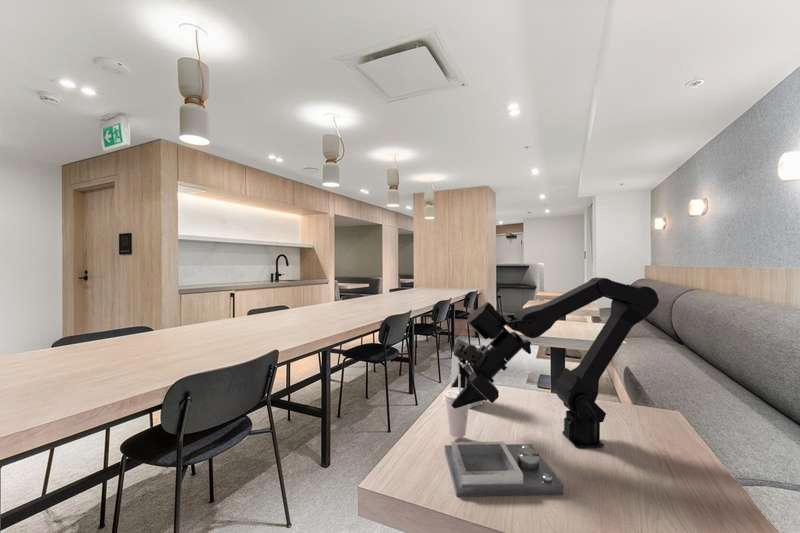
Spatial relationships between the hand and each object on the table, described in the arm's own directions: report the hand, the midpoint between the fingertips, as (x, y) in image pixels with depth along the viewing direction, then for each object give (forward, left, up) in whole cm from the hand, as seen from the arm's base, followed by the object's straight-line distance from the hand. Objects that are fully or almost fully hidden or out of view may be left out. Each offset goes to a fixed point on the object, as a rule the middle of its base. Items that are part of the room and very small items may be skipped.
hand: (451, 400), depth 80 cm
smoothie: (-1, 0, -8) cm, 8 cm away
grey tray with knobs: (-7, +12, -9) cm, 17 cm away
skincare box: (-8, -21, -9) cm, 24 cm away
